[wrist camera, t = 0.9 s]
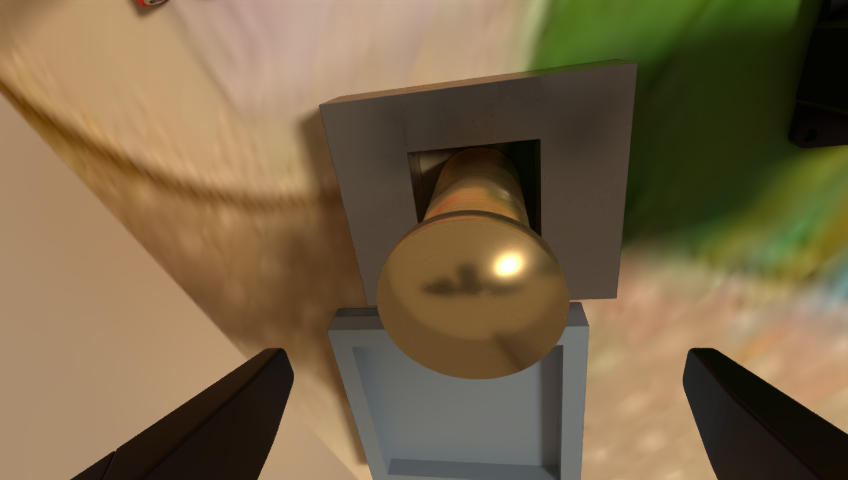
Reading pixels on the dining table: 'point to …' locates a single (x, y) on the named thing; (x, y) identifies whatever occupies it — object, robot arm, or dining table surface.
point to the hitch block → (486, 124)
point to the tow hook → (149, 2)
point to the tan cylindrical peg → (474, 277)
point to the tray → (462, 408)
